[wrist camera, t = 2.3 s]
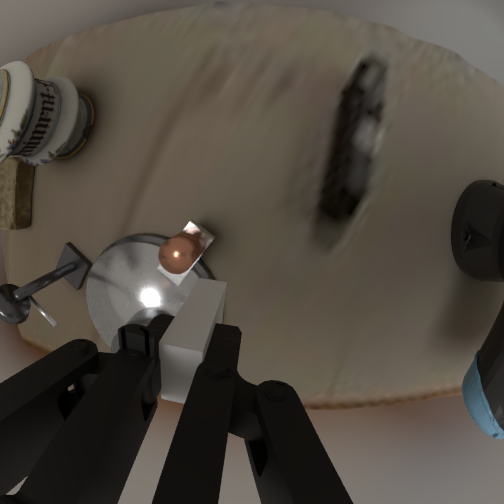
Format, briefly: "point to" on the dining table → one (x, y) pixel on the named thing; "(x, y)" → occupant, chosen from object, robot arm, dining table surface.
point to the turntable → (144, 278)
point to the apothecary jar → (41, 116)
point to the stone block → (15, 193)
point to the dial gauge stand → (18, 299)
